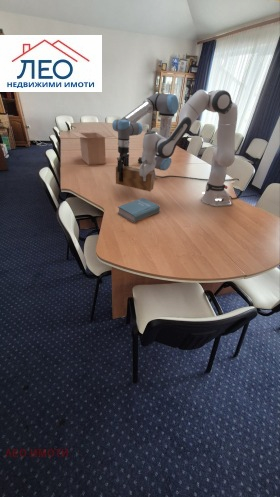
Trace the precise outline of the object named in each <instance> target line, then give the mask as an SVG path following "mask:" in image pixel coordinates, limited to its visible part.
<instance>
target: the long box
mask: <svg viewBox="0 0 280 497" xmlns="http://www.w3.org/2000/svg"><path fill="white" fill-rule="evenodd" d="M139 172H140V168H138V167H133V166H129V167H128V166H124V165H123V171H122V173H123V182H120V181H119V172H117V165H116V166H115V185H120V186H124V187H128V188H133V189H138V190H141V191H145V192H152V191H153V190H154V185H155V179H154V176H155V174H156V171H155V172H153V171H151V172H150V173H148V174H147V175H146V178H147V179H146V181H143V176H140V175H139Z"/></svg>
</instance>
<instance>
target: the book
mask: <svg viewBox="0 0 280 497" xmlns="http://www.w3.org/2000/svg"><path fill="white" fill-rule="evenodd" d="M117 208H118V212H117V214H118V215H120V216H122V217H123V218H125V219H127V220H128V221H130V222H132V223H136V222H139V221H141V220H143V219H146V218H148V217H150V216H153V215H155V214H157V213H159V212H161V211H160V209H161V206H160V205H159V204H157V203H155V202H154V201H151V200H148V199H146V198H145V197H141V198H138V199H135V200H133V201H130V202H127V203H124V204H121V205H118V207H117Z"/></svg>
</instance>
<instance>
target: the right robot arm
mask: <svg viewBox="0 0 280 497" xmlns="http://www.w3.org/2000/svg"><path fill="white" fill-rule="evenodd" d="M205 111H209V112H211V113H217V114H218V121H217V128H216V129H217V130H216V131H217V132H216V146H215V147H214V148H213V150H212V156H211V157H212V158H211V165H210V172H209V177H208V179H209V180H207V183H206V186H205V191H203V192H201V193H202V194H203V195H202V197H201V202H202V203H204V204H207V205H210V206H212V207H226V206H232V203H233V202H232V201H231V200H236V199H239V198H248V197H253V196H255V197H258V195H256V194H251V195H241V196H237V197H232V195H230V194H229V193H228V192H227V190H228V188H229V187H228V185H226V184H225V180H226V177H227V171H228V170H227V169H228V168H229V167H230V166H232V165H233V164H234V163H235V160H236V156H235V149H236V148H235V147H236V144H235V142H236V140H235V138H236V131H237V124H238V114H239V112H238V111H239V110H238V105H237V103H236V102H234V101H232V96H231V94H230V92H229V91H227V90H225V89H216V90H211V91H209V92H207V91H206V90H205V89H198V90H196V92H195V93H193V94H192V95H191V96H190V97H189V98H188V99H187V101H186V102H185V103H184V105H183V106H182V107H181V108H180V110H179V113H178V123H177V125H176V128H175V129H174V130H173V131H172V133H170V137H169V138H168V139H166V138H164V137H162V136H160V135H159V133H157V131H155V130H150V131H146V132H145V133H144V135H143V138H142V153H141V157H142V164H141V163H140V166H139V169H140V172H139V175H140V176H143V181H146V179H147V178H146V175H147V174H148V173H150V172H151V171H153V170H154V169H155V170H156V168H155V166H156V160H157V156H155V155H156V153H158V154H159V156H160V157H161V158H163V159H167V158H169V157H170V158H171V157H172V156H173V155H174V153H175V150H176V147H177V146H178V144H179V143H180V141H181V140H182V139H183V137H184V136H186V133H187V132H188V130H189V129H190V128H191V126H192V125H194V123H195V122H196V121H197V119H198V118H199V117H200V116H201V115H202V113H203V112H205ZM230 199H231V200H230Z"/></svg>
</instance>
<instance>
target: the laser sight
mask: <svg viewBox="0 0 280 497" xmlns="http://www.w3.org/2000/svg"><path fill="white" fill-rule="evenodd" d="M137 162H138V164H140V165H141V164H142V156H141V157H140V156H139V157H138V159H137Z"/></svg>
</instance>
